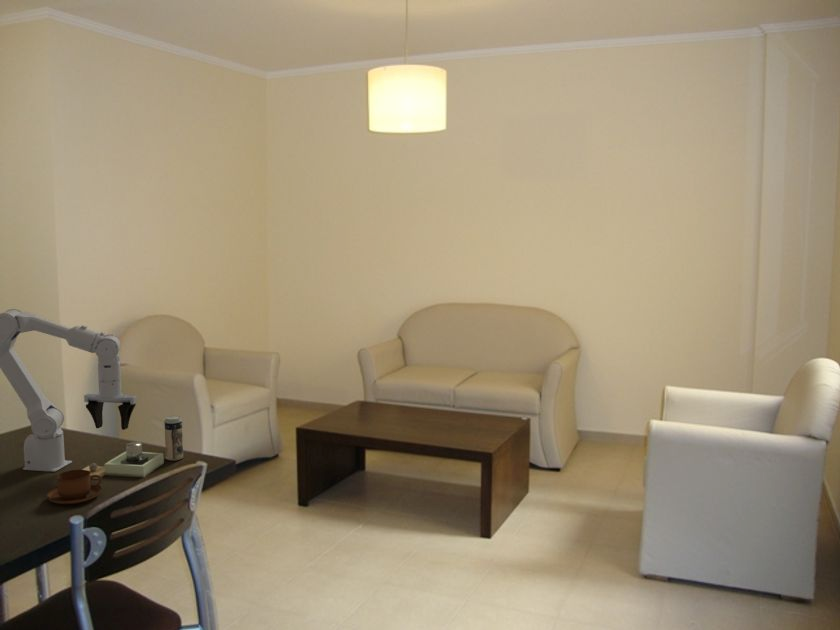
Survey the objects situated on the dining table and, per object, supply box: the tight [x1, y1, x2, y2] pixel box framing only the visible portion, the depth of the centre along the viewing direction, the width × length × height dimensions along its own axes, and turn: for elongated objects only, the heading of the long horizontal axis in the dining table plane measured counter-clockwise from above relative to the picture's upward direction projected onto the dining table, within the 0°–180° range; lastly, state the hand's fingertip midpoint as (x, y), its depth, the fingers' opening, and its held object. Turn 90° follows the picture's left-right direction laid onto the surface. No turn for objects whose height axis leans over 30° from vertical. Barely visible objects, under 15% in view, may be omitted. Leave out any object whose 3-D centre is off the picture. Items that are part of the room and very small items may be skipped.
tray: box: [103, 451, 165, 478], centre depth 204 cm, size 11×11×3 cm
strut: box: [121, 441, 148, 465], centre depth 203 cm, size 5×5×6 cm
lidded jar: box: [163, 415, 184, 462], centre depth 212 cm, size 5×5×12 cm
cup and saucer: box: [46, 469, 103, 505], centre depth 183 cm, size 12×12×6 cm
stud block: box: [81, 462, 106, 480], centre depth 200 cm, size 7×7×3 cm
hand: (112, 428), depth 208 cm, fingers open, 7 cm apart
